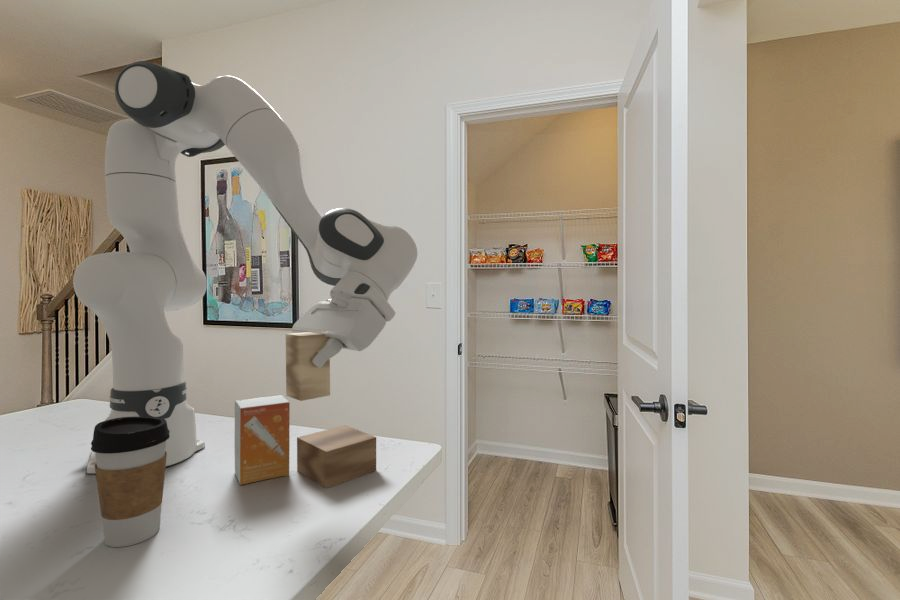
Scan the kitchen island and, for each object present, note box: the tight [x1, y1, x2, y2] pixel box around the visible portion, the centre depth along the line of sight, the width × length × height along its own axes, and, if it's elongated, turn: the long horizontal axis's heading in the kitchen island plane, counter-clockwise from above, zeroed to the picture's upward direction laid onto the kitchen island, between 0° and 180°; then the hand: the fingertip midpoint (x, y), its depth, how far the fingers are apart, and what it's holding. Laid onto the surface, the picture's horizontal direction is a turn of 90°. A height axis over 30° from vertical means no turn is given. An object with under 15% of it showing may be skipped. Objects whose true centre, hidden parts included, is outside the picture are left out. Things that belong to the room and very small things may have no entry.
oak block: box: [285, 332, 331, 402], centre depth 71 cm, size 5×5×10 cm
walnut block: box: [296, 424, 377, 489], centre depth 79 cm, size 10×10×6 cm
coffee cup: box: [90, 417, 170, 548], centre depth 58 cm, size 8×8×15 cm
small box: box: [234, 394, 291, 486], centre depth 77 cm, size 8×6×13 cm
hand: (304, 362), depth 71 cm, fingers closed on oak block, 5 cm apart
